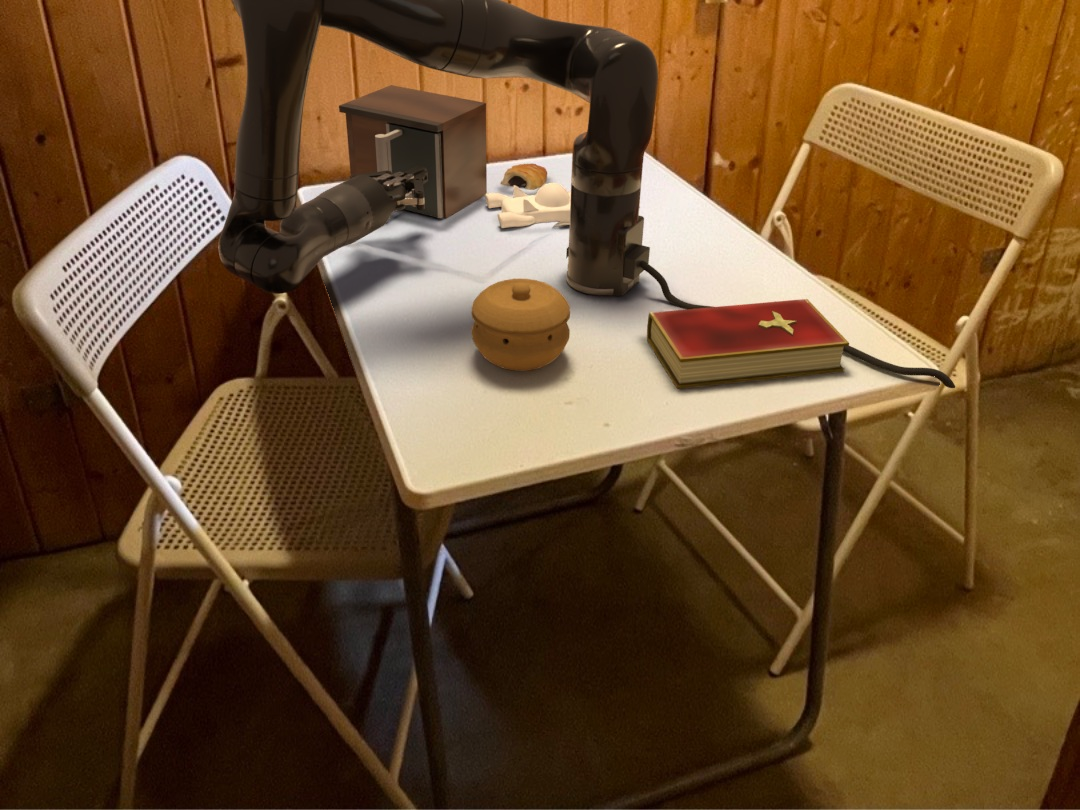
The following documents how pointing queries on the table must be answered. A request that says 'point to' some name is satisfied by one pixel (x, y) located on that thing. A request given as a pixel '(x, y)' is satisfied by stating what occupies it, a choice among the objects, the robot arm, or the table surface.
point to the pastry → (525, 176)
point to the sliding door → (413, 160)
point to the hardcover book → (744, 343)
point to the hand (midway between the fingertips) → (422, 173)
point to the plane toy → (532, 206)
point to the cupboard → (432, 113)
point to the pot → (520, 324)
